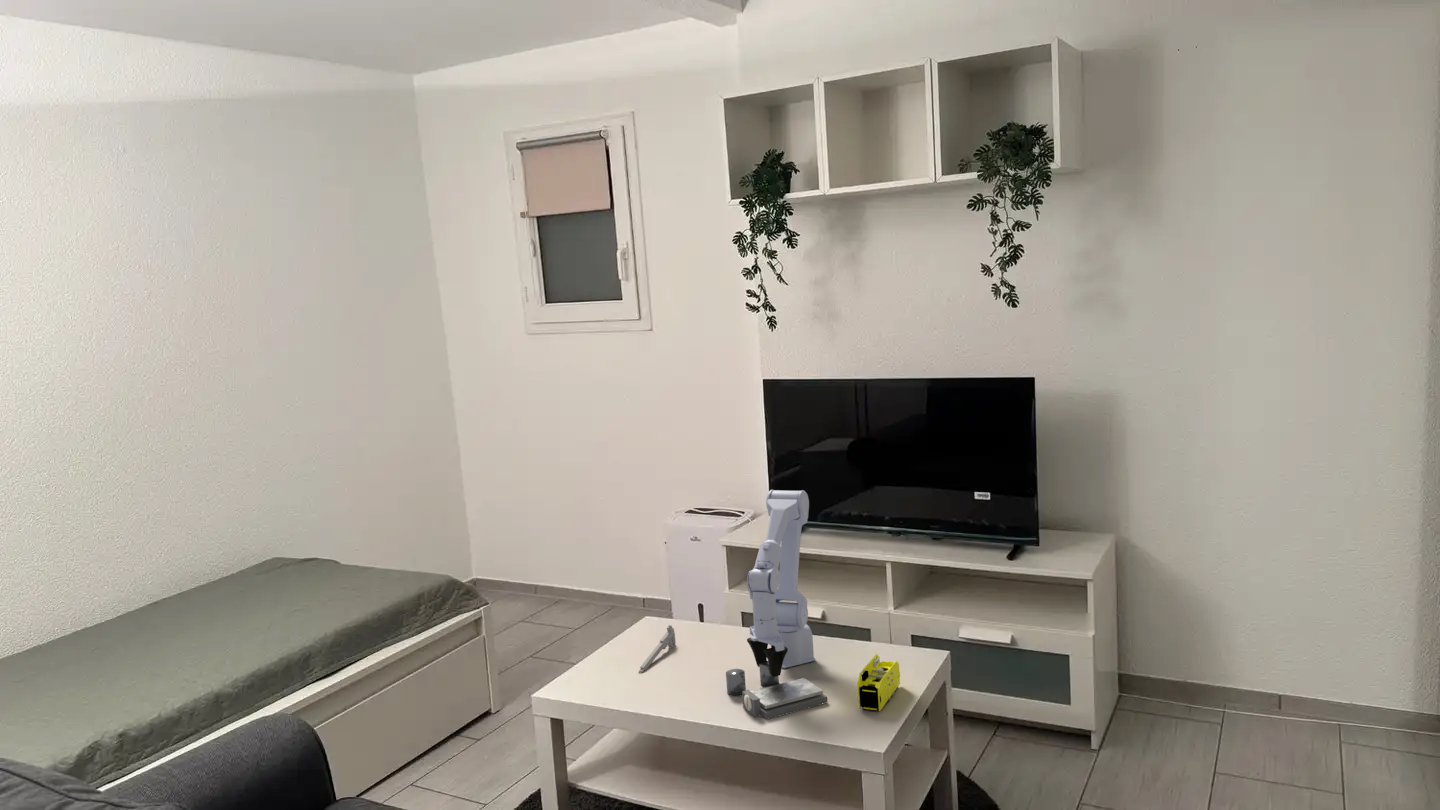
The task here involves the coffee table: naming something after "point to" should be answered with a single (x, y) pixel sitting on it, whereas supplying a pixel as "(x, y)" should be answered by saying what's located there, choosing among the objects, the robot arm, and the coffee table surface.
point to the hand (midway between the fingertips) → (768, 670)
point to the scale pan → (786, 693)
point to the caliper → (660, 647)
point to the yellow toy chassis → (877, 683)
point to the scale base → (756, 709)
